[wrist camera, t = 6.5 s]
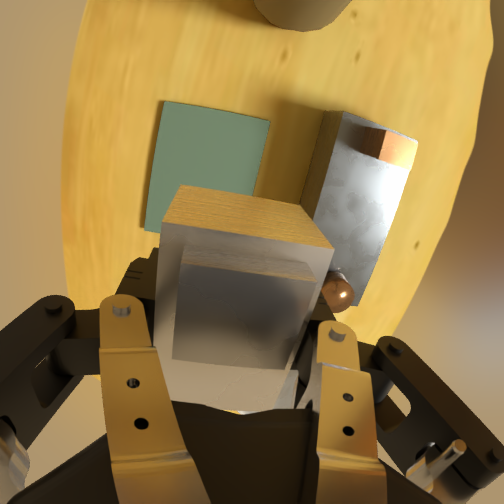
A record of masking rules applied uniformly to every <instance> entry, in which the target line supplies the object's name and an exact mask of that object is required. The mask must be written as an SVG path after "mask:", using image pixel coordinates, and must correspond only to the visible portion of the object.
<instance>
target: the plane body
mask: <svg viewBox="0 0 504 504" xmlns="http://www.w3.org/2000/svg"><path fill="white" fill-rule="evenodd" d="M417 142H418V141H416V140H414V139H412V138H410V137H408V136H405V135H403V134H401V133H398V132H396V131H394V130H391V129H389V128H386V127H384V126H382V125H379V124H376V123H374V122H371V121H369V120H366V119H364V118H361V117H358V116H355V115H353V114H350V113H347V112H344V111H325V112H324V116H323V120H322V124H321V127H320V131H319V135H318V139H317V142H316V146H315V150H314V153H313V157H312V161H311V164H310V168H309V172H308V175H307V179H306V182H305V186H304V189H303V193H302V196H301V200H300V203H299V205H300V206H301V207H302V208H303V210H304V211H305V212H306V213H307V215H308V216H309V217H310V218H311V220H312V221H313V222H314V223H315V225H316V226H317V227H318V229H319V230H320V231H321V232H322V234H323V235H324V236H325V237H326V239H327V240H328V241H329V243H330V244H331V245H332V247H333V248H334V249H335V250H334V253H333V256H332V259H331V262H330V265H329V268H328V271H327V274H326V277H325V279H324V282H323V285H322V288H321V292H322V293H323V295H324V299H326V301H327V303H328V304H327V305H329V307H330V309H331V311H332V313H339V312H342V311H344V310H346V309H347V308H348V307H349V306H350V305H351V306H358V304H359V302H360V300H361V297H362V295H363V293H364V291H365V288H366V286H367V284H368V281H369V279H370V277H371V274H372V272H373V270H374V267H375V265H376V262H377V260H378V257H379V255H380V252H381V250H382V247H383V245H384V242H385V239H386V237H387V234H388V231H389V229H390V226H391V223H392V220H393V218H394V215H395V212H396V209H397V206H398V203H399V200H400V197H401V194H402V191H403V188H404V185H405V182H406V179H407V176H408V173H409V171H410V170H411V167H412V164H413V160H414V157H415V153H416V150H417V146H418V143H417Z"/></svg>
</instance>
